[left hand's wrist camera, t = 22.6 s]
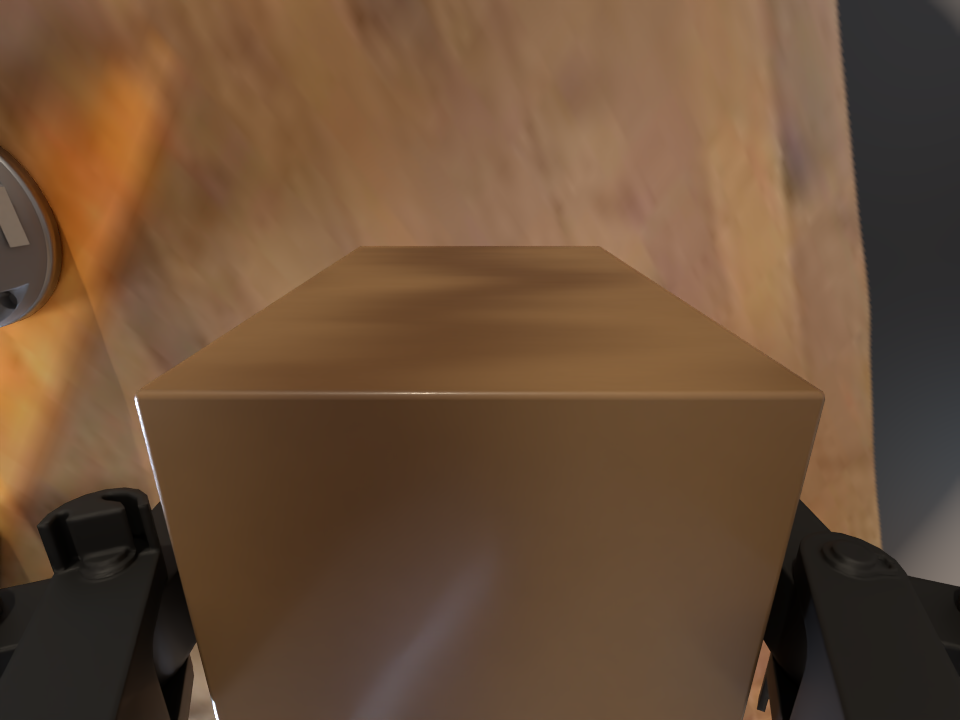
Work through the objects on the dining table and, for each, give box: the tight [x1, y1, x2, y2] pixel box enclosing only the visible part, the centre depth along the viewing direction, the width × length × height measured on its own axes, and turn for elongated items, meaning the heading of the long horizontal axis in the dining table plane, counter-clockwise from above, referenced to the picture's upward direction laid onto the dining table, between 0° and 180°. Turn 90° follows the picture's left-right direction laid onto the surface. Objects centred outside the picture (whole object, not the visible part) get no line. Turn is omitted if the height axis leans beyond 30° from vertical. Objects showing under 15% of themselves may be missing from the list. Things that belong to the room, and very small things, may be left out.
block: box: [135, 246, 825, 720], centre depth 12 cm, size 7×8×11 cm
